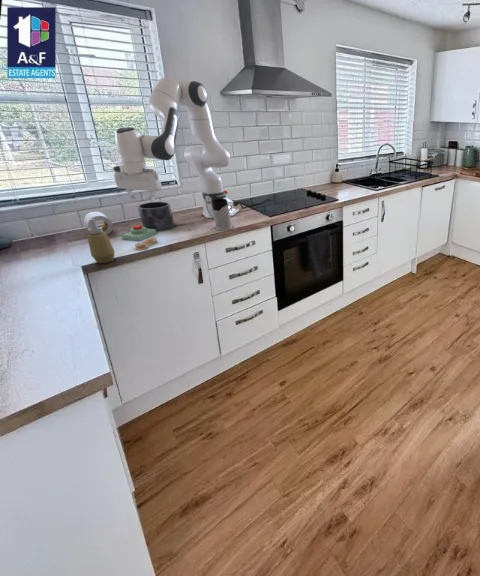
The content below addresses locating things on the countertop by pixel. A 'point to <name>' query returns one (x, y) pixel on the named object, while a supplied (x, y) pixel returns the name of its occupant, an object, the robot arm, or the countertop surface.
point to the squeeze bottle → (99, 244)
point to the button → (137, 227)
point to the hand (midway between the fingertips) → (142, 199)
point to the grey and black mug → (221, 214)
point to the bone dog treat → (145, 243)
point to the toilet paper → (96, 216)
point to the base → (138, 234)
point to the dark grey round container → (156, 215)
